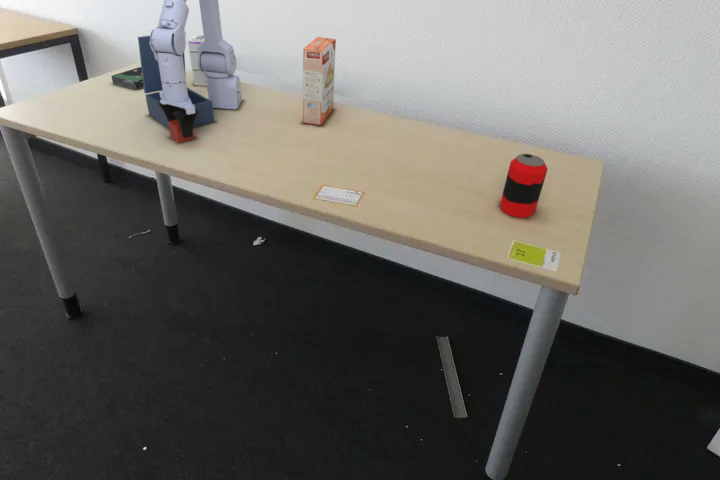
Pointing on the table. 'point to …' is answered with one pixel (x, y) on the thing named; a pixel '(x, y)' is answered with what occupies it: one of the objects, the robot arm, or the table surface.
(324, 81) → the cracker box
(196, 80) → the syrup box
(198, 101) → the toy box
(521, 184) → the soda can
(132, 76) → the disk drive
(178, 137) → the block
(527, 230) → the table surface
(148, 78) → the lid
